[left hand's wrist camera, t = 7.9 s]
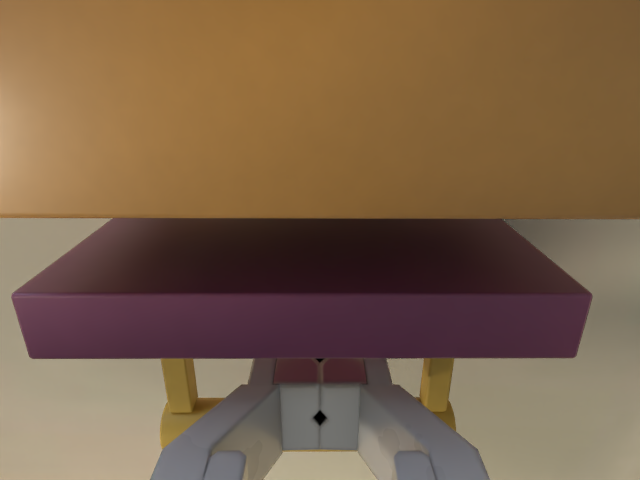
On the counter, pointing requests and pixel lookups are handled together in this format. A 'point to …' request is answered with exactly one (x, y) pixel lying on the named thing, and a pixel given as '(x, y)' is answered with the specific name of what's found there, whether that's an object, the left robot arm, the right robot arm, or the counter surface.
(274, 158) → the wooden box
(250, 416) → the left robot arm
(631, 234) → the counter surface
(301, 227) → the drawer
